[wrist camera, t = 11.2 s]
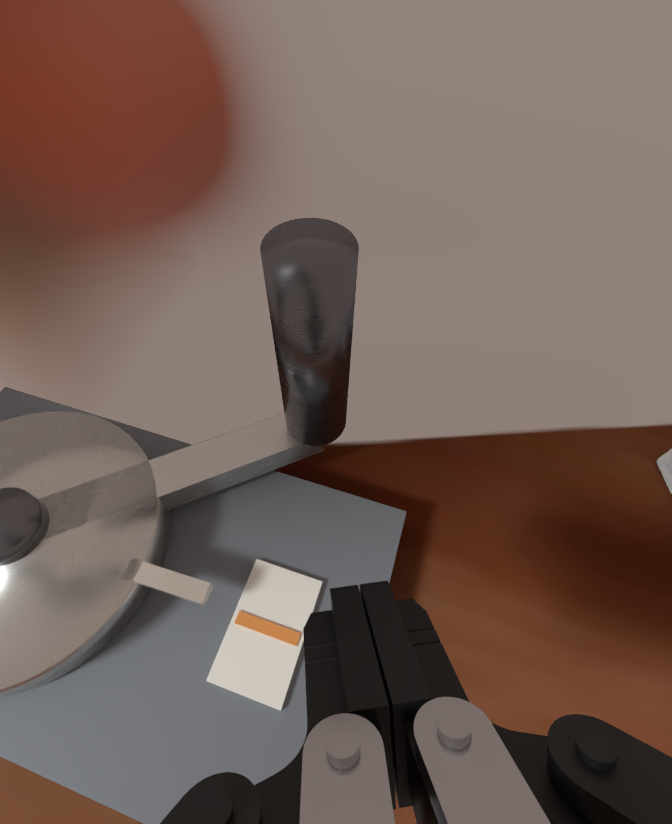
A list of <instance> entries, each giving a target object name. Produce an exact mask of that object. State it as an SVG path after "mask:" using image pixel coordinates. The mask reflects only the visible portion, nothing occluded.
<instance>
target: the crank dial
mask: <svg viewBox="0 0 672 824" xmlns="http://www.w3.org/2000/svg"><path fill="white" fill-rule="evenodd" d="M260 249H261V250H260V251H261V258H262V264H263V271H264V278H265V285H266V291H267V298H268V305H269V311H270V318H271V325H272V332H273V338H274V345H275V352H276V359H277V365H278V371H279V379H280V385H281V391H282V399H283V406H284V412H285V413H283V414H280V415H277V416H275V417H271V418H269V419H266V420H263V421H260V422H257V423H254V424H251V425H249V426H246V427H243V428H240V429H238V430H234V431H231V432H229V433H226V434H223V435H220V436H217V437H215V438H211V439H209V440H206V441H203V442H201V443H197V444H194V445H191V446H189V447H186V448H183V449H180V450H177V451H174V452H171V453H169V454H166V455H163V456H160V457H157V458H154V459H151V460H150V459H149V458H148V456H147V455H146V454H145V452H144V451H143V450H142V449H141V447H140V446H139V445H138V444H137V442H136V441H135V440H134V439H133V438H132V437H131V436H130V435H129V434H127V433H126V432H125V431H123V430H122V429H121V428H119V427H118V426H116V425H114V424H112V423H110V422H108V421H106V420H104V419H101V418H98V417H95V416H92V415H87V414H83V413H77V412H65V411H58V412H41V413H34V414H28V415H23V416H19V417H15V418H11V419H8V420H5V421H2V422H0V697H2V696H7V695H12V694H17V693H21V692H24V691H27V690H30V689H33V688H36V687H39V686H41V685H43V684H46V683H48V682H50V681H52V680H54V679H56V678H58V677H61V676H62V675H64V674H66V673H67V672H69V671H71V670H72V669H74V668H76V667H77V666H79V665H80V664H82V663H83V662H85V661H86V660H87V659H89V658H90V657H91V656H93V655H94V654H95V653H96V652H98V651H99V650H100V649H101V648H103V647H104V646H105V645H106V644H107V643H108V642H109V641H110V640H111V639H112V638H113V637H114V636H115V635H116V634H117V633H118V632H119V631H120V630H121V629H122V628H123V627H124V625H125V624H126V623H127V622H128V621H129V620H130V619H131V617H132V616H133V615H134V613H135V612H136V611H137V609H138V608H139V606H140V605H141V604H142V602H143V601H144V599H145V598H146V596H147V594H148V592H149V591H150V589H151V588H152V589H155V590H158V591H161V592H164V593H167V594H170V595H173V596H176V597H179V598H182V599H185V600H188V601H191V602H194V603H197V604H200V605H203V606H205V605H206V603H207V601H208V598H209V596H210V594H211V591H212V589H213V585H212V584H211V583H209V582H205V581H202V580H199V579H196V578H193V577H190V576H187V575H184V574H181V573H178V572H174V571H171V570H168V569H165V568H162V567H161V565H162V563H163V559H164V556H165V553H166V549H167V546H168V540H169V534H170V518H171V513H170V509H173V508H175V507H178V506H180V505H183V504H186V503H188V502H191V501H194V500H196V499H199V498H201V497H204V496H207V495H209V494H212V493H215V492H217V491H220V490H222V489H225V488H228V487H230V486H233V485H236V484H238V483H241V482H243V481H246V480H249V479H251V478H254V477H257V476H259V475H262V474H264V473H267V472H270V471H272V470H275V469H278V468H280V467H283V466H285V465H288V464H291V463H293V462H296V461H299V460H301V459H304V458H306V457H309V456H312V455H314V454H317V453H320V452H322V451H324V445H326V444H328V443H331V442H333V441H334V440H335V439H337V438H338V437H339V436H340V435H341V433H342V432H343V430H344V428H345V424H346V412H347V398H348V385H349V371H350V358H351V343H352V330H353V317H354V304H355V291H356V277H357V263H358V250H359V248H358V242H357V240H356V238H355V236H354V235H353V234H352V233H351V232H350V231H349V230H348V229H347V228H345V227H344V226H342V225H340V224H338V223H335V222H332V221H329V220H325V219H319V218H301V219H295V220H290V221H287V222H284V223H282V224H280V225H278V226H276V227H274V228H273V229H272V230H270V231H269V232H268V233H267V234H266V235H265V237H264V238H263V240H262V243H261V248H260Z"/></svg>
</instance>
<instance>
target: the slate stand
mask: <svg viewBox="0 0 672 824" xmlns="http://www.w3.org/2000/svg"><path fill="white" fill-rule="evenodd" d="M58 411H65V412H77V413H83V414H87V415H92V416H95V417H98V418H101V419H104V420H106V421H108V422H110V423H112V424H114V425H116V426H118V427H119V428H121V429H122V430H123V431H125V432H126V433H127V434H129V435H130V436H131V437H132V438H133V439H134V440H135V441H136V442H137V444H138V445H139V446H140V447H141V449H142V450H143V451H144V452H145V454H146V455H147V456H148V458H149V459H150V460H151V459H154V458H157V457H160V456H163V455H166V454H169V453H171V452H174V451H177V450H180V449H183V448H186V447H189V446H191V444H187V443H184V442H181V441H177V440H174V439H171V438H168V437H165V436H161V435H158V434H155V433H151V432H149V431H145V430H142V429H139V428H136V427H132V426H129V425H126V424H123V423H119V422H116V421H113V420H110V419H107V418H103V417H100V416H97V415H93V414H91V413H87V412H84V411H81V410H78V409H74V408H71V407H68V406H65V405H61V404H58V403H55V402H52V401H49V400H45V399H42V398H39V397H36V396H33V395H29V394H26V393H23V392H20V391H16V390H13V389H10V388H7V387H5V388H4V389H3V390H2V391H1V392H0V422H2V421H5V420H8V419H11V418H15V417H19V416H23V415H28V414H34V413H41V412H58ZM406 512H407V511H403V510H400V509H397V508H394V507H390V506H387V505H384V504H381V503H377V502H374V501H371V500H368V499H365V498H361V497H358V496H355V495H352V494H348V493H345V492H342V491H339V490H336V489H332V488H329V487H326V486H323V485H319V484H316V483H313V482H310V481H307V480H303V479H300V478H297V477H294V476H290V475H287V474H284V473H281V472H278V471H274V470H272V471H270V472H267V473H264V474H262V475H259V476H257V477H254V478H251V479H249V480H246V481H243V482H241V483H238V484H236V485H233V486H230V487H228V488H225V489H222V490H220V491H217V492H215V493H212V494H209V495H207V496H204V497H201V498H199V499H196V500H194V501H191V502H188V503H186V504H183V505H180V506H178V507H175V508H173V509H170V513H171V518H170V534H169V540H168V546H167V549H166V553H165V556H164V559H163V563H162V565H161V567H162V568H165V569H168V570H171V571H174V572H178V573H181V574H184V575H187V576H190V577H193V578H196V579H199V580H202V581H205V582H209V583H211V584H212V585H213V589H212V591H211V594H210V596H209V598H208V601H207V603H206V605H205V606H203V605H200V604H197V603H194V602H191V601H188V600H185V599H182V598H179V597H176V596H173V595H170V594H167V593H164V592H161V591H158V590H155V589H152V588H151V589H150V591H149V592H148V594H147V596H146V598H145V599H144V601H143V602H142V604H141V605H140V606H139V608H138V609H137V611H136V612H135V613H134V615H133V616H132V617H131V619H130V620H129V621H128V622H127V623H126V624H125V625H124V627H123V628H122V629H121V630H120V631H119V632H118V633H117V634H116V635H115V636H114V637H113V638H112V639H111V640H110V641H109V642H108V643H107V644H106V645H105V646H104V647H103V648H101V649H100V650H99V651H98V652H96V653H95V654H94V655H93V656H91V657H90V658H89V659H87V660H86V661H85V662H83V663H82V664H80V665H79V666H77V667H76V668H74V669H72V670H71V671H69V672H67V673H66V674H64V675H62V676H61V677H58V678H56V679H54V680H52V681H50V682H48V683H46V684H43V685H41V686H39V687H36V688H33V689H30V690H27V691H24V692H21V693H17V694H12V695H7V696H2V697H0V757H2V758H4V759H7V760H9V761H11V762H13V763H15V764H17V765H19V766H22V767H24V768H26V769H28V770H30V771H32V772H34V773H37V774H39V775H41V776H43V777H45V778H47V779H49V780H52V781H54V782H56V783H58V784H60V785H62V786H64V787H67V788H69V789H71V790H73V791H75V792H77V793H79V794H81V795H84V796H86V797H88V798H90V799H92V800H94V801H96V802H99V803H101V804H103V805H105V806H107V807H109V808H111V809H114V810H116V811H118V812H120V813H122V814H124V815H126V816H129V817H131V818H133V819H135V820H137V821H139V822H141V823H144V824H160V823H161V822H162V820H163V819H164V818H165V817H166V816H167V815H168V813H169V812H170V811H171V810H172V809H173V808H174V806H175V805H176V804H177V803H178V802H179V801H180V799H181V798H182V797H183V796H184V795H185V794H186V793H187V792H188V791H189V790H190V789H191V788H192V787H193V786H194V785H196V784H197V783H198V782H200V781H202V780H203V779H205V778H207V777H209V776H211V775H214V774H218V773H223V772H234V773H238V774H241V775H243V776H245V777H247V778H248V779H249V780H250V781H251V782H252V783H253V785H255V784H257V783H259V782H261V781H263V780H265V779H267V778H268V777H270V776H272V775H274V774H276V773H277V772H279V771H281V770H282V769H283V768H285V767H286V766H287V765H288V764H289V763H290V762H291V761H292V760H293V759H294V758H295V757H296V755H297V754H298V753H299V751H300V749H301V747H302V745H303V743H304V741H305V738H306V733H307V703H306V680H305V657H304V634H303V629H304V627H305V624H306V622H307V620H308V618H309V616H310V614H311V613H314V612H321V611H328V610H331V601H330V588H337V587H344V586H352V585H358V588H359V584H365V583H372V582H380V581H388V582H389V583H390V578H391V574H392V570H393V566H394V562H395V558H396V553H397V549H398V545H399V541H400V537H401V533H402V529H403V524H404V520H405V516H406Z"/></svg>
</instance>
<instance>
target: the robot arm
mask: <svg viewBox="0 0 672 824" xmlns="http://www.w3.org/2000/svg"><path fill="white" fill-rule="evenodd" d="M330 601H331V610H328V611H321V612H314V613H311V614H310V616H309V618H308V620H307V622H306V624H305V627H304V629H303V634H304V657H305V680H306V703H307V733H306V738H305V741H304V743H303V745H302V747H301V749H300V751H299V753H298V754H297V755H296V757H295V758H294V759H293V760H292V761H291V762H290V763H289V764H288V765H287V766H286V767H285V768H283V769H282V770H281V771H279V772H277V773H276V774H274V775H272V776H270V777H268V778H267V779H265V780H263V781H261V782H259V783H257V784H255V785H253V783H252V782H251V781H250V780H249V779H248V778H247V777H245V776H243V775H241V774H238V773H234V772H223V773H218V774H214V775H211V776H209V777H207V778H205V779H203V780H202V781H200V782H198V783H197V784H196V785H194V786H193V787H192V788H191V789H190V790H189V791H188V792H187V793H186V794H185V795H184V796H183V797H182V798H181V799H180V801H179V802H178V803H177V804H176V805H175V806H174V808H173V809H172V810H171V811H170V812H169V813H168V815H167V816H166V817H165V818H164V819H163V820H162V822H161V823H160V824H395V820H394V813H393V809H396V802H395V791H396V795H397V800H398V804H399V808H402V807H408V806H413V809H414V813H415V817H416V821H417V824H672V758H671V757H670V756H668V755H666V754H664V753H662V752H660V751H658V750H657V749H655V748H653V747H651V746H649V745H647V744H645V743H644V742H642V741H640V740H638V739H636V738H634V737H632V736H631V735H629V734H627V733H625V732H623V731H621V730H619V729H617V728H616V727H614V726H612V725H610V724H608V723H606V722H604V721H602V720H600V719H597V718H594V717H591V716H586V715H578V714H573V715H566V716H563V717H560V718H558V719H557V720H556V721H554V722H553V724H552V725H551V726H550V729H549V731H548V736H542V735H536V734H529V733H522V732H516V731H512V730H508V729H505V728H502V727H500V726H497V725H495V724H493V723H492V722H490V720H489V719H488V717H487V716H486V715H485V714H484V713H483V712H482V711H481V710H480V709H479V708H478V707H476V706H475V705H473V704H472V703H470V702H469V700H468V698H467V696H466V694H465V692H464V690H463V688H462V686H461V684H460V682H459V680H458V677H457V675H456V673H455V671H454V669H453V667H452V665H451V663H450V660H449V658H448V656H447V654H446V652H445V650H444V648H443V646H442V644H441V643H440V639H439V637H438V635H437V633H436V631H435V630H434V627H433V624H432V622H431V620H430V618H429V616H428V614H427V612H426V610H424V609H423V608H422V607H421V606H420V605H419V604H417V603H416V602H415V601H414V600H413V599H405V600H398V601H396V600H395V598H394V595H393V592H392V590H391V587H390V585H389V582H388V581H380V582H372V583H365V584H359V588H358V585H352V586H344V587H337V588H330ZM394 786H395V787H394Z"/></svg>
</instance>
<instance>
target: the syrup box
mask: <svg viewBox="0 0 672 824" xmlns="http://www.w3.org/2000/svg"><path fill="white" fill-rule="evenodd" d="M657 465H658V467H659V469H660V471H661V473H662V476H663V478H664V480H665V482H666V484H667V486H668V488H669V490H670V492H671V494H672V449H670V450H669V451H667V452H666V453H665V454H663V455H662V456H661V457H659V458H658V459H657Z"/></svg>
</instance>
